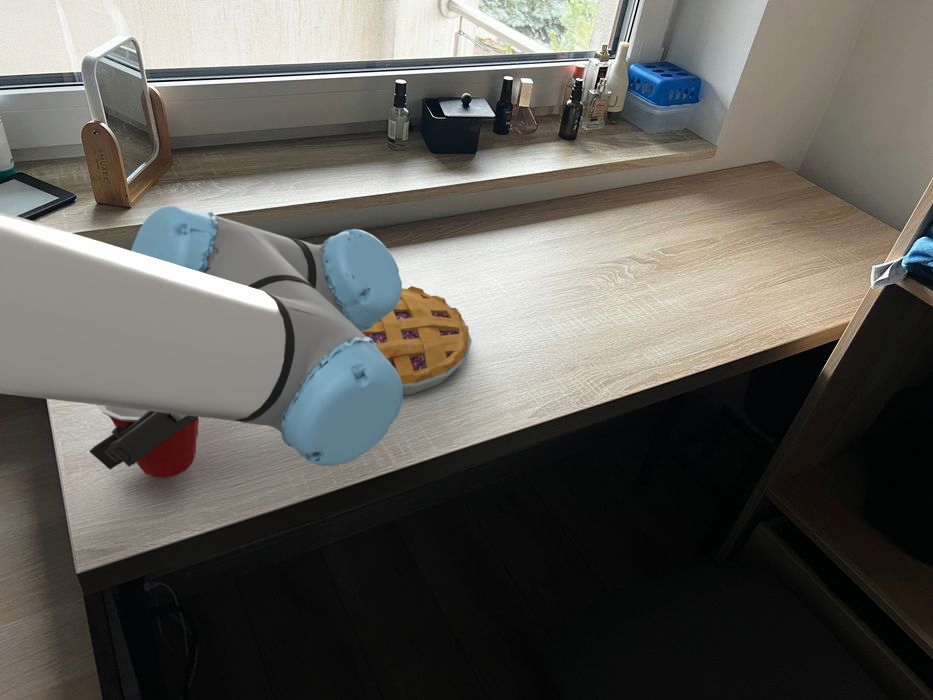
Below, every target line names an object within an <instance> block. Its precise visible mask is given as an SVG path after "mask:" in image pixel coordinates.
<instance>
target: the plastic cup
mask: <svg viewBox="0 0 933 700" xmlns="http://www.w3.org/2000/svg"><path fill="white" fill-rule="evenodd" d="M95 406H96V407H97V408H98V409H99V410H100V412H101V413H102V414H103V415H105V416H108V417H109V419H111V421H112V423H113V425H114V427H115V428H116V427H117V426H118V425H119V426H120V427H121V428H123V427H125V426H126V425H127V426H128V427H129V426H131V425H132V424H133V423H134V422H136V421H137V420H138V419H139V418H140V417H142V416H143V415H144V414H145V413H147V412H148V411H146V410H137V409H129V408H120V407H112V406H103V405H95ZM199 419H200V417H198V419H197V420H196V421H195V422H194V423H193V422H192V423H191V424H189V425H187V426H185V427H184V428H182V429H180V430H179V431H177V432H176V433H175V434H173V435H172V436H171V437H169V438H168V439H166V440H165V441H164V442H162V443H161V444H160V445H158V446H157V447H155V448H154V449H153V450H151V451H150V452H149V453H147V454H146V455H144V456H143V457H142V458H140V459H139V460H138V461H137V462H136V463H135V464H136V465H137V466H138V467H139V468H140V469H141V471H142V472H143V473H144V474H145V475H147V476H150V477H153V478H159V479H160V478H162V479H165V478H170V477H175V476H177V475H180V474H182V473H183V472H185V471H187V469H188V468H189V467H190V466H191V465H193V462H194V459H195V457H196V456H195V455H196V453H197V438H198V434H199Z"/></svg>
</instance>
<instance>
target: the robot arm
mask: <svg viewBox="0 0 933 700" xmlns="http://www.w3.org/2000/svg"><path fill="white" fill-rule="evenodd" d="M402 288H403V281H402V278H401V276H400V268H399V267H398V264H397V262H396V260H395V258H394V256H393V255H392V253H391V251H389V249H388V248H387V247H386V245H385V244H384V243H383V242H382V241H380V240H379V239H378V237H376V236H374V235H372V233H369V232H367V231H365V230H362V229H356V228H353V229H346V230H343V231H341V232H339V233H337V234H336V235H333V236H330V237H327V238H326V240H324V241H323V243H322V244H313V243H311V242H308V241H304V240H300V239H297V238H291V237H287V236H283V235H281V234H277V233H273V232H270V231H267V230H264V229H260V228H257V227H254V226H250V225H247V224H245V223H241V222H237V221H234V220H231V219H228V218H224V217H221V216H218V215H217V213H216V212H213V211H208V212H205V211H201V210H195V209H191V208H186V207H183V206H182V207H181V206H177V205H176V206H175V205H169V206H168V205H167V206H163V207H160V208H158V209H157V210H156V211H154V212H152V213H151V214H150V215H149V216H148V217H147V218H146V219H145V220H144V221H143V223H142V225H141V226H140V228H139V230H138V232H137V235H136V237H135V239H134V241H133V244H132V247H131V250H128V249H125V248H123V247H119V246H115V245H113V244H109V243H106V242H103V241H100V240H96V239H93V238H91V237H86V236H83V235H80V234H76V233H73V232H70V231H67V230H63V229H59V228H57V227H53V226H50V225H47V224H44V223H40V222H37V221H33V220H30V219H26V218H25V217H20V216H17V215H14V214H11V213H7V212H4V211H1V210H0V394H2V395H3V394H4V395H10V396H11V395H12V396H19V397H26V398H27V397H29V398H35V399H36V398H37V399H44V400H53V401H61V402H70V403H79V404H88V405H95V406H96V405H103V406H112V407H120V408H129V409H137V410H146V411H148V412H147V413H145V414H144V415H143V416H142V417H140V418H139V419H138V420H137V421H136V422H134V423H133V424H132V425H131V426H129V427H128V426H127V425H126V426H125V427H123V428H121V427H120V426H119V425H118V426H117V427H115V428H113V429H112V430H111V435H109V436H108V437H106V438H105V439H103V440H102V441H100V442H98V443H97V444H96V445H94V446H93V447H92V448H91V449H90V450H89V452H88V453H90V454H91V455H93V457H95V458H96V459H97V460H98V461H99V462H100V463H102V465H104V466H105V467H106V468H107V469H108V470H112V469H113V468H115V467H117V466H119V465H120V464H122V463H124V464H125V465H126V466H127V467H131V466H132V465H136V464H137V463H136V462H137V461H138V460H139V459H140V458H142V457H143V456H144V455H146V454H147V453H149V452H150V451H151V450H153V449H154V448H155V447H157V446H158V445H160V444H161V443H162V442H164V441H165V440H166V439H168V438H169V437H171V436H172V435H173V434H175V433H176V432H177V431H179V430H180V429H182V428H184V427H185V426H187V425H189V424H191V423H192V422H193V423H194V422H195V421H196V420H197V419H198V417H199V418H205V419H213V420H221V421H222V420H224V421H230V422H231V421H233V422H238V423H239V422H240V423H243V424H250V425H258V426H265V427H266V426H267V427H272V428H273V429H276V430H278V431H279V432H280V433H281V434H280V437H281V439H282V441H283V442H284V444H285V445H286V446H289V447H292V448H294V450H295V451H296V452H297V453H298V455H300V457H302V458H303V459H305V460H306V461H308V462H310V463H311V464H314V465H317V466H323V467H332V466H338V465H342V464H345V463H348V462H351V461H353V460H356V459H357V458H359V457H361V456H362V455H364V454H366V453H367V452H369V451H370V450H371V449H372V448H373V447H375V446H376V445H377V444H378V443H379V442H380V441H381V440H382V439H383V438H384V437H385V436H386V434H387V433H388V432H389V428H390V427H391V425H392V424H393V422H394V421H395V420H396V419H397V417H398V415H399V414H400V410H401V407H402V403H403V398H404V395H403V386H402V382H401V378H400V376H399V374H398V372H397V371H396V369H395V368H394V367H393V366H392V364H391V363H390V362H389V361H388V360H387V359H386V357H385V356H384V355H383V354H382V353H381V352H380V350H379V349H378V348H377V345H376V343H374V342H373V340H372V339H371V338H370V337H366V336H365V335H364V334H363V333H362V332H361V331H364V330H368V329H369V328H371V327H372V326H373V325H374V324H375V323H376V322H378V321H379V320H380V319H382V318H383V317H385V316H386V315H387V314H389V313H390V312H391V311H393V310H394V309H395V307H396V306H397V305H398V303H399V301H400V298H401V293H402Z"/></svg>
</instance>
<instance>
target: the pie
mask: <svg viewBox="0 0 933 700" xmlns="http://www.w3.org/2000/svg"><path fill="white" fill-rule="evenodd" d="M361 332H362V333H363V334H364V335H365V336H366V337H370V338H371V339H372V340H373V342H374V343H376V345H377V348H378V349H379V350H380V352H381V353H382V354H383V355H384V356H385V357H386V359H387V360H388V361H389V362H390V363H391V364H392V366H393V367H394V368H395V369H396V371H397V372H398V374H399V376H400V378H401V382H402V386H403V396H408V395H414V394H417V393H420V392H422V391H425V390H429V389H431V388H434V387H436V386H439V385H440V384H441V383H443V382H444V381H445V380H446V379H448V378H449V377H451V375H453V374H454V373H455V372H456V370H457V369H458V367H460V366H461V365H462V364H463V363H465V362H466V361H468V356H469V353H470V349H471V345H472V342H473V341H472V338H471V335H470V332H469V325H467V324H466V322H465V320H464V319H463V316H462V314H461V313H460V311H459V309H458V308H457V307H451V306H450V305H449V304H448V303H447V301H446V299H445V298H444V297H441V296H439V295H430V294H428V293H426V292H425V291H424V289H423V288H420V287H416V286H414V285H411V286H409V287H407V288H403V287H402V293H401V298H400V301H399V303H398V305H397V306H396V307H395V309H394V310H393V311H391V312H390V313H389V314H387V315H386V316H385V317H383V318H382V319H380V320H379V321H378V322H376V323H375V324H374V325H373V326H372V327H371V328H369V329H368V330H364V331H361Z"/></svg>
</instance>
